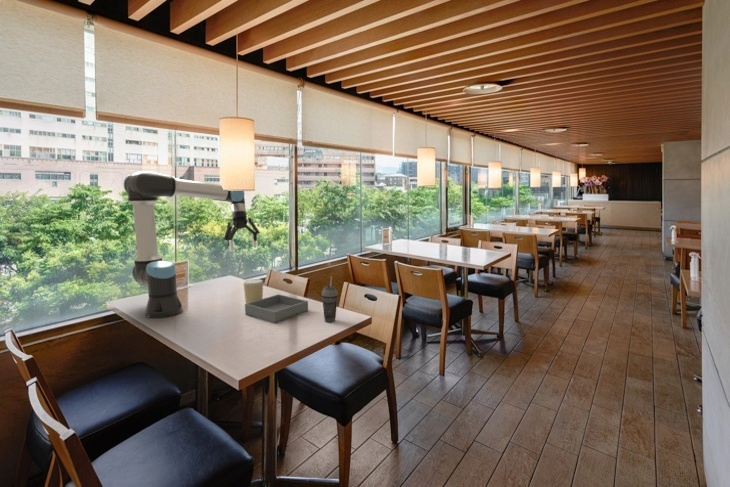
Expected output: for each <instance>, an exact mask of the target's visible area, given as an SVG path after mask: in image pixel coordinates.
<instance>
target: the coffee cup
mask: <svg viewBox="0 0 730 487" xmlns="http://www.w3.org/2000/svg"><path fill="white" fill-rule="evenodd" d="M242 285H243V289H244V290H243V291H244V299H245V304H247V303H250V302H254V301H257V300H261V299H263V293H264V292H263V291H264V281H263V279H261V278H260V279H258V278H256V279H255V278H251V279H247V280H244V281H243V284H242Z"/></svg>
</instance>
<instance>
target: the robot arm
mask: <svg viewBox="0 0 730 487" xmlns="http://www.w3.org/2000/svg"><path fill="white" fill-rule="evenodd" d="M221 185H222V184H218V183H217V184H215V183H210V182H202V181H197V180H195V181H194V180H188V179H182V178H181V179H180V178H175V176H173V175H169V174H164V173H158V172H155V171H149V170H147V171H145V170H144V171H135V172H131V173H130V174H127V176H126V177H125V178H124V180H123V189H124V191H125V193H126V194H127V199H128V201H127V202H129V204H131V205H132V212H133V220H134V221H133V222H134V233H135V243H136V244H135V245H136V253H137V254H136V256H135V258H134V259H133V261H134V265H133V267H132V270H131V275H132V278H133V279H134V280H135V282H136V283H138V284H139V285H141V286H144V287H147V292H148V301H147V303H146V307H145V316H146V315H147V316H149V317H148V318H151V317H161V318H167V317H166V316H168V317H173V316H176V315H178V314H180V313H182V312H183V305H182V302H181V300H180V298H179V296H178V287H177V286H178V285H177V270H176V265H175V264H174V263H173V262H171V261H168V260H167V261H166V260H163V257H162V256H161V255H160V254H159V248H158V238H157V227H156V216H155V215H156V214H155V204H156V203H157V202H158V198H159V197H169V198H172V197H174V196H181V197H190V198H200V199H209V200H212V201H213V200H214V201H218V202H219V201H220V202H227V203H228V202H229V203H230V205H231V216H232V222H228V223H227V227H226V231H225V235H224V237H223V240H224V241H227V246H228V247H229V252H232V253H234V252H235V250H234V249H235V248H234V242H233V240H232V239H233V238H234V236H235V234H236V232H237V231H238V230H242V229H246V230H247V231H249V232H250V233H251V240H252V248H257V246H258V245H257V242H258V237H257V236H258V234H260V230H259V229H258V227H257V226H256V225H255V223H254V220H253V218H250V217H249V218H248V216H247V212H246V211H247V210H246V199H245V191H244V190H243V191H228V190H223V188H222V186H221ZM248 223H249V224H250V226H249V225H248ZM251 227H252V228H251ZM175 314H176V315H175ZM172 315H173V316H172ZM147 316H146V317H147Z"/></svg>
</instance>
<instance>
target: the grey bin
mask: <svg viewBox="0 0 730 487" xmlns="http://www.w3.org/2000/svg"><path fill="white" fill-rule="evenodd" d="M308 308H309V300H305V299H301V298H296V297H292V296H288V295H283V294H280V293H278V294H275V295H271V296H267V297H264V298H262V299H261V300H257V301H254V302H250V303H247V304H246V303H245V304H244V309H245V310H244V312H245V313H244V314H245V315H246V316H249V317H252V318H255V319H259V320H262V321H265V322H269V323H271V324H278V323H280V322H283V321H285V320H286V321H287V320H289V319H291V318H293V317H297V316H299V315H301V314H305V313H307V312H309V309H308Z"/></svg>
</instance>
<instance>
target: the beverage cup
mask: <svg viewBox="0 0 730 487" xmlns="http://www.w3.org/2000/svg"><path fill="white" fill-rule="evenodd" d="M332 281H333V276H331V275H330V284H329V285H327V286H325V287H324V288H323V289H322V290H321V295H320V296H321V300H322V308H323V318H324V323H327V324H332V323H335V322H336V319H337V318H336V316H337V304H338V297H339V294H338V290H337V288H336V287H334V286H332Z"/></svg>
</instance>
